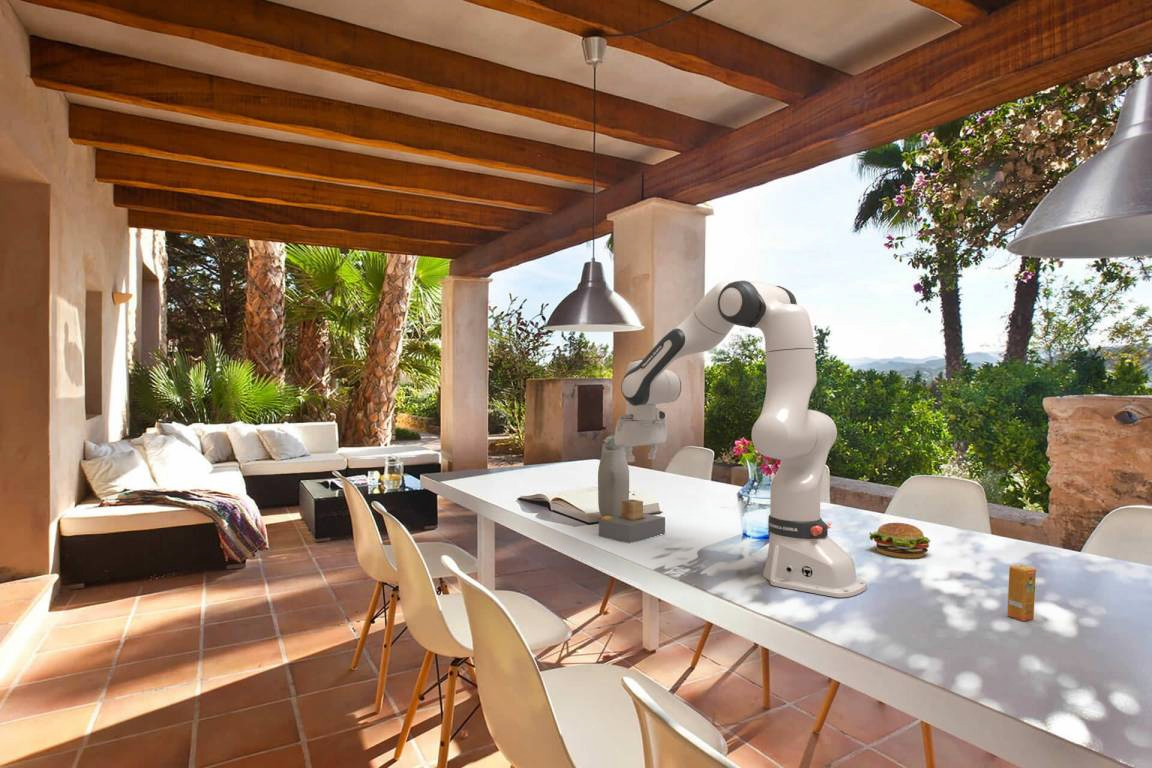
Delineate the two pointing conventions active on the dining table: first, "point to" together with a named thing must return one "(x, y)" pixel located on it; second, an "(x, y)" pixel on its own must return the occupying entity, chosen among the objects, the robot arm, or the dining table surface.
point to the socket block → (631, 527)
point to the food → (900, 540)
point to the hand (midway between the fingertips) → (641, 460)
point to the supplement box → (1021, 592)
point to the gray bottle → (612, 478)
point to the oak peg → (632, 510)
